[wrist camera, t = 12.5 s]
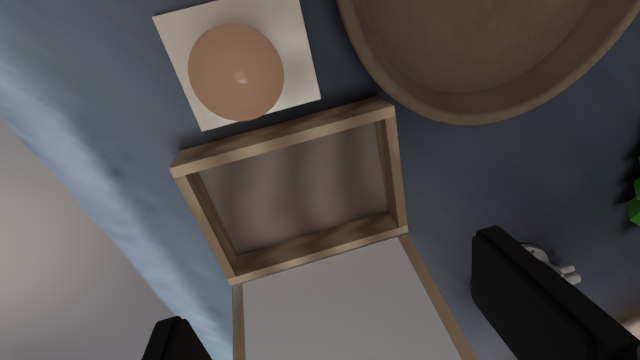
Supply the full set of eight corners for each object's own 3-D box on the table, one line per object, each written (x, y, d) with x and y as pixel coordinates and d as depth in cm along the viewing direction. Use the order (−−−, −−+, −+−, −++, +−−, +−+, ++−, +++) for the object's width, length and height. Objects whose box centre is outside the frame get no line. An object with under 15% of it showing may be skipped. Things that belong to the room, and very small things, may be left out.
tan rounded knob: (266, 16, 26) (268, 12, 19) (286, 88, 29) (294, 108, 22) (195, 34, 26) (170, 37, 19) (222, 105, 29) (210, 131, 22)
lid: (488, 379, 24) (487, 381, 24) (407, 233, 35) (407, 237, 35) (234, 464, 23) (237, 464, 23) (232, 286, 34) (234, 289, 34)
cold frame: (377, 95, 32) (394, 105, 28) (393, 211, 39) (408, 232, 35) (180, 150, 31) (168, 168, 27) (233, 258, 38) (230, 285, 34)
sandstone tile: (293, -18, 26) (294, -20, 25) (319, 96, 31) (321, 98, 30) (155, 17, 26) (151, 17, 25) (203, 128, 30) (201, 131, 29)
